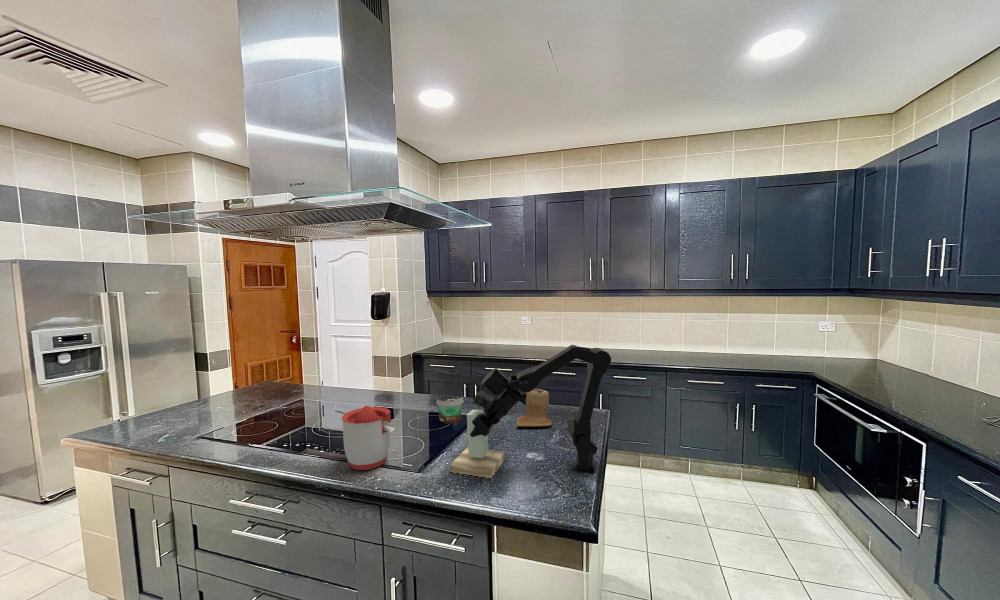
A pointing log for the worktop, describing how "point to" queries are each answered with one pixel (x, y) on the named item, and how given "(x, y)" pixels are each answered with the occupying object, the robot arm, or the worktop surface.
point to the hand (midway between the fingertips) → (474, 432)
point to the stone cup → (535, 409)
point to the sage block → (476, 437)
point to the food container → (450, 410)
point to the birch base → (478, 464)
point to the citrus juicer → (367, 436)
